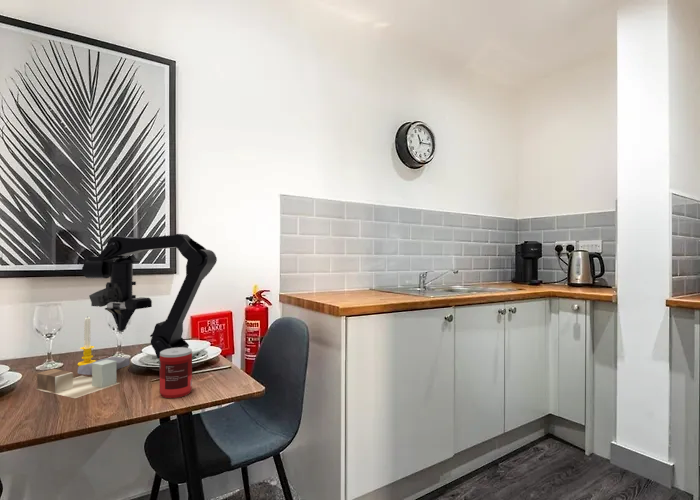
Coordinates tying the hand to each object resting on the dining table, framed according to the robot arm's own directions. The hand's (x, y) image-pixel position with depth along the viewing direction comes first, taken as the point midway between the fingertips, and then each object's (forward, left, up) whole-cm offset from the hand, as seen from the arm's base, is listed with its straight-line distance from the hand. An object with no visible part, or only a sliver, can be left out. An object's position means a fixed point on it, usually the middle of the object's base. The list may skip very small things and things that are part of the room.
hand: (121, 330), depth 116 cm
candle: (+20, -3, -13) cm, 24 cm away
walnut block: (-1, +16, -10) cm, 19 cm away
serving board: (-1, +13, -13) cm, 18 cm away
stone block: (+8, 0, -14) cm, 16 cm away
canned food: (-27, +5, -13) cm, 30 cm away
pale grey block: (-6, +9, -12) cm, 16 cm away
